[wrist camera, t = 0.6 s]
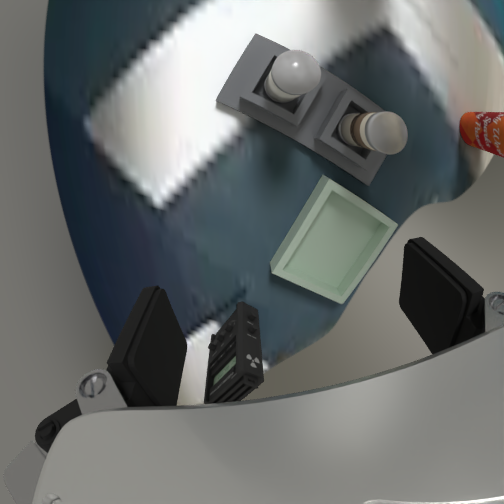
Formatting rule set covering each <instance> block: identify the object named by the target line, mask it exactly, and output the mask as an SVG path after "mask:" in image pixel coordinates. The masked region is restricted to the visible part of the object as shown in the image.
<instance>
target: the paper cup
mask: <svg viewBox="0 0 504 504" xmlns="http://www.w3.org/2000/svg"><path fill="white" fill-rule="evenodd" d="M460 133H461V136H462V138H463V140H464V141H465V143H467V144H468V145H470V146H473V147H476V148H479V149H481V150H484V151H487V152H490V153H493V154H496V155H499V156H501V157H504V112H468V113H465V114H463V116H462V117H461V120H460Z"/></svg>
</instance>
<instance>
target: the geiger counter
mask: <svg viewBox="0 0 504 504" xmlns="http://www.w3.org/2000/svg"><path fill="white" fill-rule="evenodd" d="M208 348H209V349H210V352H209V360H208V369H207V378H206V388H205V397H204V403H205V404H215V403H227V402H237V401H241V400H242V399H243V398H245V397H246V396H247V395H248V394H249V393H251V392H252V391H253V390H254V389H255V388H258V386H259V385H260V384H261V383H262V382H264V376H263V364H262V352H261V340H260V328H259V316H258V310H257V309H255V308H253V307H252V306H250V305H248V304H246V303H244V302H238V303H237V309H236V310H235V312H234V313H233V314H232V315H231V316H230V318H229V319H228V320H227V321H226V323H225V324H224V325H223V326H222V327H221V329H220V330H219V331H218V332H217V333H216V335H214V334H212V335H211V343H210V344H209V346H208Z"/></svg>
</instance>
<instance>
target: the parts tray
mask: <svg viewBox="0 0 504 504" xmlns="http://www.w3.org/2000/svg"><path fill="white" fill-rule="evenodd" d="M397 226H398V224H397V223H395V222H394V221H393V220H391V219H390V218H388V217H387V216H386V215H384V214H383V213H381V212H380V211H378V210H377V209H376V208H374V207H373V206H371V205H370V204H368V203H367V202H365V201H364V200H362V199H361V198H359V197H358V196H356V195H355V194H353V193H352V192H350V191H348V190H347V189H345V188H344V187H342V186H341V185H339V184H337V183H336V182H334V181H333V180H331V179H329V178H328V177H326V176H324V175H322V176H321V178H320V180H319V182H318V183H317V185H316V187H315V188H314V190H313V192H312V193H311V195H310V197H309V199H308V200H307V202H306V204H305V205H304V207H303V209H302V210H301V212H300V214H299V215H298V217H297V219H296V220H295V222H294V224H293V225H292V227H291V229H290V230H289V232H288V234H287V235H286V237H285V239H284V240H283V242H282V243H281V245H280V247H279V248H278V250H277V252H276V253H275V255H274V257H273V258H272V260H271V262H270V266H271V271H272V273H273V274H275V275H277V276H279V277H282V278H284V279H286V280H288V281H291V282H293V283H295V284H297V285H300V286H302V287H304V288H306V289H309V290H311V291H313V292H315V293H318V294H320V295H322V296H324V297H327V298H329V299H331V300H334V301H336V302H338V303H340V304H343V303H344V302H345V300H346V299H347V298H348V297H349V295H350V294H351V293H352V291H353V290H354V289H355V287H356V286H357V284H358V283H359V282H360V280H361V279H362V278H363V276H364V275H365V273H366V272H367V271H368V269H369V268H370V266H371V265H372V264H373V262H374V261H375V259H376V258H377V256H378V255H379V253H380V252H381V250H382V249H383V247H384V246H385V244H386V243H387V241H388V240H389V238H390V237H391V235H392V234H393V232H394V231H395V229H396V227H397Z"/></svg>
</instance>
